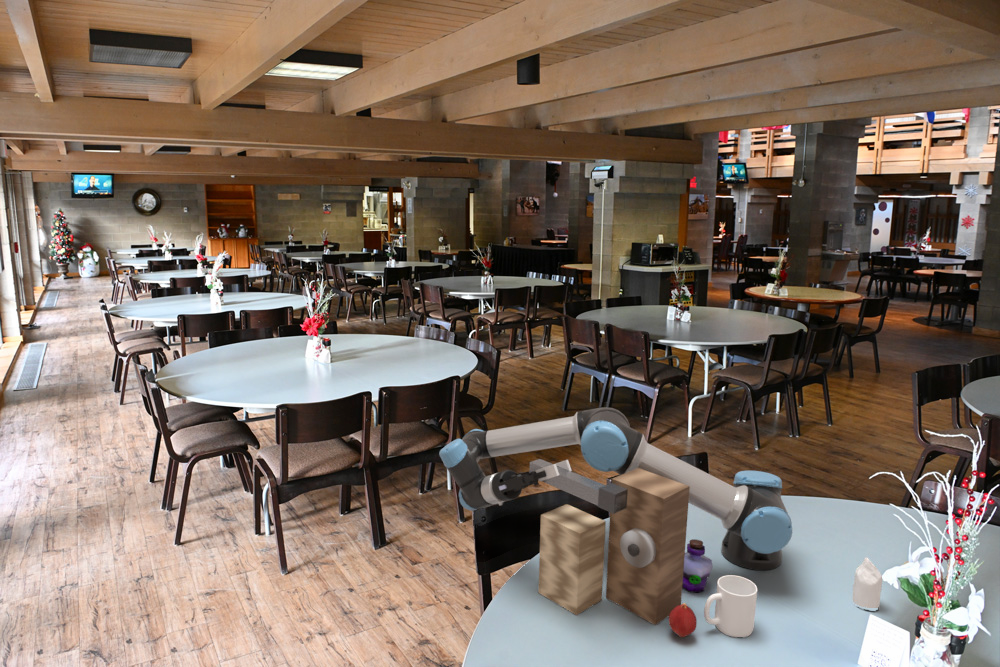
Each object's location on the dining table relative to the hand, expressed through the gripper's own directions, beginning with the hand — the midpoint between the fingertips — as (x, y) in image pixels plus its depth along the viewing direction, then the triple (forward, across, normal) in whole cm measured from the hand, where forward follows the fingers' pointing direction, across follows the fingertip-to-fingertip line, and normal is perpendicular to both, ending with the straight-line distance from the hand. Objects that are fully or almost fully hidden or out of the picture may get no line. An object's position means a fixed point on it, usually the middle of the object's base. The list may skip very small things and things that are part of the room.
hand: (562, 467), depth 158 cm
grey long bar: (+1, 0, -6) cm, 6 cm away
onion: (+10, -7, -42) cm, 44 cm away
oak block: (-12, 0, -29) cm, 32 cm away
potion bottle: (+2, -26, -38) cm, 46 cm away
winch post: (-1, -10, -35) cm, 37 cm away
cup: (+14, -17, -44) cm, 50 cm away
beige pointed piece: (+29, -50, -53) cm, 79 cm away
